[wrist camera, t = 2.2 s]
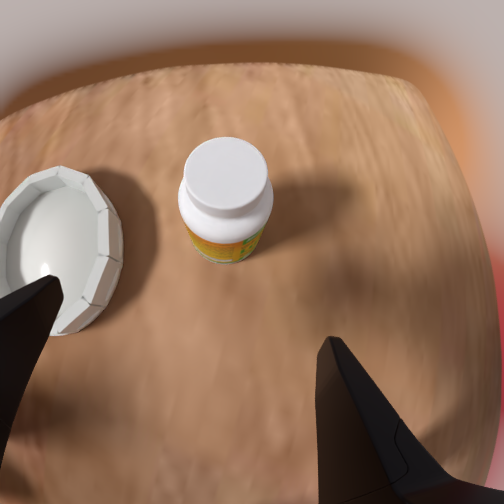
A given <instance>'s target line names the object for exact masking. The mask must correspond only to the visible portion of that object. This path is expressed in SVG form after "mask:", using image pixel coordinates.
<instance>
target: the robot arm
mask: <svg viewBox="0 0 504 504" xmlns="http://www.w3.org/2000/svg"><path fill="white" fill-rule="evenodd" d="M63 300H64V294H63V290H62V286H61V283H60V279H59V278H58V277H57V276H53V275H50V274H49V275H46V276H44V277H42V278H40V279H38V280H36V281H34V282H32V283H30V284H27V285H25V286H23V287H21V288H19V289H17V290H15V291H14V292H12V293H10V294H8V295H6V296H4V297H2V298H0V468H1V464H2V460H3V456H4V452H5V448H6V444H7V441H8V438H9V434H10V431H11V427H12V424H13V421H14V418H15V415H16V412H17V410H18V407H19V404H20V401H21V399H22V396H23V394H24V391H25V389H26V386H27V384H28V381H29V379H30V376H31V374H32V372H33V369H34V367H35V365H36V363H37V360H38V358H39V356H40V354H41V352H42V350H43V348H44V346H45V344H46V341H47V339H48V337H49V335H50V332H51V330H52V327H53V325H54V322H55V320H56V317H57V315H58V312H59V310H60V308H61V305H62V303H63ZM315 409H316V427H317V450H318V490H319V504H504V491H502V490H497V489H492V488H488V487H483V486H479V485H475V484H472V483H468V482H464V481H461V480H458V479H456V478H454V477H452V476H451V475H449V474H448V473H447V472H446V471H445V470H444V469H443V468H442V467H441V466H440V465H439V464H438V462H437V461H436V460H435V459H434V458H433V457H432V456H431V455H430V454H429V452H428V451H427V450H426V449H425V448H424V447H423V446H422V444H421V443H420V442H419V441H418V440H417V439H416V437H415V436H414V435H413V434H412V432H411V431H410V430H409V428H408V427H407V426H406V424H405V423H404V422H403V420H402V419H401V418H400V416H399V415H398V414H397V412H396V411H395V409H394V408H393V407H392V405H391V404H390V403H389V401H388V400H387V399H386V397H385V396H384V395H383V393H382V392H381V391H380V389H379V388H378V387H377V385H376V384H375V382H374V381H373V380H372V378H371V377H370V376H369V374H368V373H367V372H366V370H365V369H364V368H363V367H362V365H361V364H360V363H359V361H358V360H357V359H356V357H355V356H354V355H353V353H352V352H351V351H350V349H349V348H348V347H347V345H346V344H345V343H344V341H343V340H342V339H341V338H340V337H334V336H328V337H327V338H326V339H325V341H324V343H323V345H322V346H321V348H320V350H319V352H318V355H317V369H316V389H315Z"/></svg>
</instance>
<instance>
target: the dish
mask: <svg viewBox="0 0 504 504" xmlns="http://www.w3.org/2000/svg"><path fill="white" fill-rule="evenodd" d="M4 203H5V204H4ZM4 203H3V204H2V207H1V209H0V298H2V297H4V296H6V295H8V294H10V293H12V292H14V291H15V290H17V289H19V288H21V287H23V286H25V285H27V284H30V283H32V282H34V281H36V280H38V279H40V278H42V277H44V276H46V275H49V274H50V275H53V276H57V277H58V278H59V279H60V283H61V286H62V290H63V294H64V300H63V303H62V305H61V308H60V310H59V312H58V315H57V317H56V320H55V322H54V325H53V327H52V330H51V332H50V335H49V336H62V335H69V334H72V333H76V332H79V331H80V330H81V329H83V328H85V327H86V326H88V325H89V324H90V323H92V322H93V321H94V320H95V319H96V318H97V317H98V316H99V315H100V314H101V312H102V311H103V310H104V309H105V308H106V306H107V305H108V303H109V301H110V299H111V297H112V295H113V293H114V291H115V289H116V286H117V283H118V280H119V277H120V273H121V269H122V267H123V265H122V264H123V255H124V240H123V231H122V226H121V221H120V218H119V216H118V214H117V211H116V209H115V208H114V206H113V204H112V203H111V201H110V200H109V199H108V197H107V196H106V195H105V194H104V193H103V191H102V190H101V189H100V188H99V186H98V185H97V184H96V183H95V182H94V181H93V179H92V178H91V177H90V176H89V175H87V174H84V173H81V172H78V171H75V170H72V169H69V168H66V167H63V166H56V167H53V168H50V169H47V170H44V171H41V172H38V173H35V174H33V175H30V177H29V176H28V177H27V178H26V179H25V180H24V181H23V182H22V183H21V184H20V185H19V186H18V187H17V188H16V189H15V190H14V191H13V192H12V193H11V195H10V196H9V197H8V198H7V199H6V200H5V201H4Z"/></svg>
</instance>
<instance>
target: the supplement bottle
mask: <svg viewBox="0 0 504 504" xmlns="http://www.w3.org/2000/svg"><path fill="white" fill-rule="evenodd" d="M273 198H274V196H273V188H272V185H271V182H270V180H269V178H268V168H267V164H266V161H265V159H264V157H263V155H262V154H261V153H260V151H259V150H258V149H257V148H256V147H254V146H253V145H252V144H250V143H248V142H246V141H244V140H242V139H238V138H233V137H220V138H214V139H211V140H208V141H206V142H204V143H202V144H201V145H199V146H198V147H197V148H195V149H194V151H193V152H192V153H191V154H190V156H189V157H188V159H187V161H186V164H185V167H184V178H183V180H182V182H181V185H180V188H179V193H178V203H179V209H180V213H181V216H182V218H183V221H184V223H185V226H186V228H187V231H188V233H189V235H190V238H191V241H192V243H193V245H194V247H195V249H196V250H197V251H198V252H199V254H200V255H202V256H203V257H204V258H206V259H207V260H209V261H211V262H214V263H217V264H233V263H236V262H239V261H241V260H243V259H245V258H246V257H247V256H249V255H250V254H251V253H252V251H253V250H254V249H255V247H256V245H257V243H258V241H259V239H260V237H261V234H262V232H263V230H264V228H265V225H266V223H267V221H268V218H269V216H270V214H271V210H272V206H273Z"/></svg>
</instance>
